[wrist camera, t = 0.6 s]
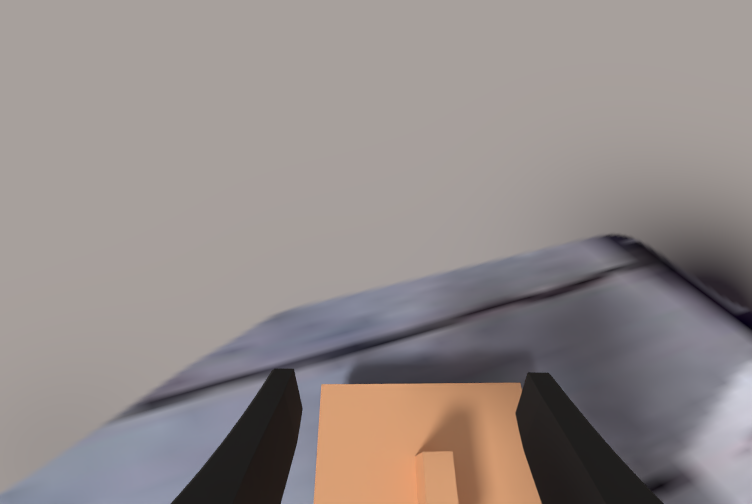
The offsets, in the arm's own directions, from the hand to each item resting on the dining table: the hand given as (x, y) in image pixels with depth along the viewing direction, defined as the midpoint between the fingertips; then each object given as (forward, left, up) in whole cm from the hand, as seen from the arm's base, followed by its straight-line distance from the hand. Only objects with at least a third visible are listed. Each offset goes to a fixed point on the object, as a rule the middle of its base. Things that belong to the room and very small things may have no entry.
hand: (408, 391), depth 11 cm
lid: (-4, -3, -14) cm, 15 cm away
